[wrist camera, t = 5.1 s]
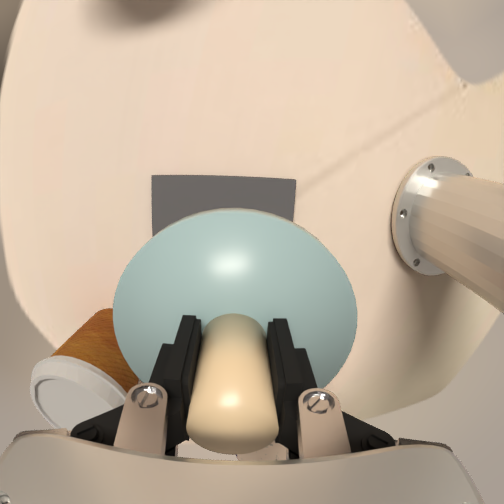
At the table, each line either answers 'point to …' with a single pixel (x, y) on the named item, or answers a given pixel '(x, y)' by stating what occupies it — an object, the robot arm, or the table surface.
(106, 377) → the disposable coffee cup
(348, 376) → the table surface
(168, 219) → the mat
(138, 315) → the cover
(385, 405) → the table surface
